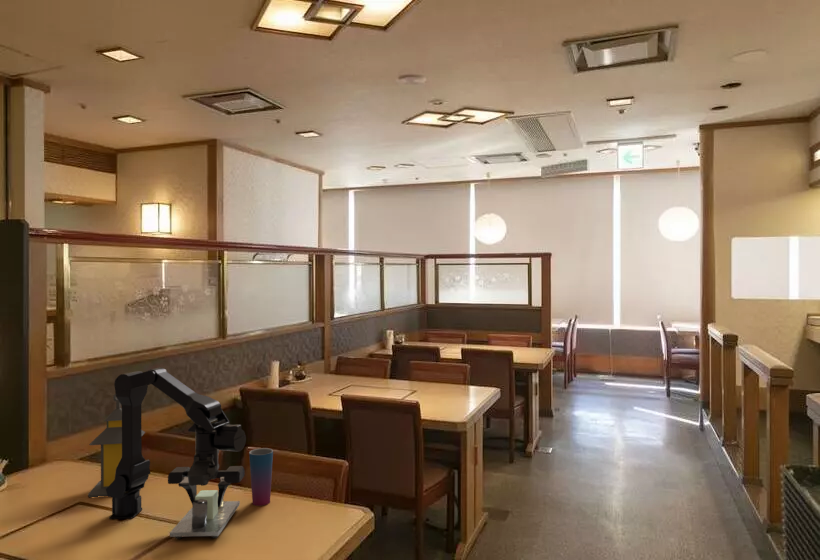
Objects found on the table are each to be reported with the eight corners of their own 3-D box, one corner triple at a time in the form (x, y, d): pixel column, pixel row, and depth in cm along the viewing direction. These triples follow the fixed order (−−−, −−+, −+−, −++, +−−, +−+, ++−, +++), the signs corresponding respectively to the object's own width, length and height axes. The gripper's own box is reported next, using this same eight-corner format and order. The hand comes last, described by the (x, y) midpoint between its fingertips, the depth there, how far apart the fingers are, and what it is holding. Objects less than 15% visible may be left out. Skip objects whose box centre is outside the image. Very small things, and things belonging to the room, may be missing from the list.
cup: (266, 507, 163) (266, 455, 163) (245, 506, 164) (244, 454, 165) (277, 498, 170) (276, 448, 170) (256, 497, 171) (255, 447, 171)
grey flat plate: (169, 542, 142) (169, 532, 142) (197, 510, 162) (197, 501, 162) (218, 541, 142) (218, 531, 142) (239, 509, 162) (239, 501, 162)
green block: (201, 512, 154) (201, 490, 154) (217, 512, 154) (217, 490, 154) (195, 519, 149) (195, 496, 149) (212, 519, 150) (212, 496, 150)
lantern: (137, 494, 174) (137, 396, 174) (86, 498, 171) (86, 398, 171) (147, 479, 188) (147, 388, 188) (100, 482, 185) (100, 390, 185)
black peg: (190, 528, 144) (191, 505, 144) (193, 522, 147) (193, 499, 147) (205, 527, 144) (206, 504, 144) (207, 521, 148) (208, 498, 148)
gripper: (159, 458, 144) (159, 520, 143) (233, 457, 144) (233, 518, 144) (175, 445, 155) (175, 503, 155) (244, 444, 155) (245, 501, 155)
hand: (206, 506), depth 152 cm, fingers open, 6 cm apart
